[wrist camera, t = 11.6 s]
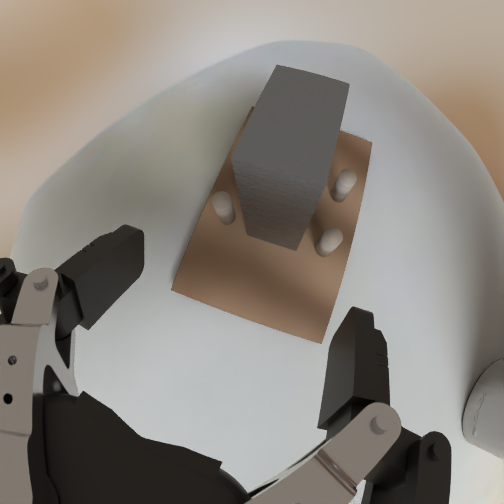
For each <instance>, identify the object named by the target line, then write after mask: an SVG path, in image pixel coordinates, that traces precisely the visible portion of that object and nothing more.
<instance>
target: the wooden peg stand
mask: <svg viewBox="0 0 504 504" xmlns="http://www.w3.org/2000/svg"><path fill="white" fill-rule="evenodd" d="M254 108H255V107H253V106H252V108H251V110H250V112H249V114H248V116H247V118H246V120H245V122H244V124H243V126H242V128H241V130H240V132H239V134H238V136H237V138H236V140H235V142H234V144H233V146H232V148H231V150H230V152H229V155H228V157H227V159H226V161H225V163H224V165H223V167H222V169H221V172H220V174H219V176H218V178H217V180H216V182H215V185H214V187H213V189H212V191H211V193H210V196H209V198H208V200H207V202H206V205H205V207H204V209H203V212H202V214H201V216H200V219H199V221H198V223H197V226H196V228H195V230H194V233H193V235H192V238H191V240H190V242H189V245H188V247H187V250H186V252H185V255H184V257H183V260H182V262H181V265H180V267H179V270H178V272H177V275H176V278H175V280H174V283H173V285H172V288H171V290H172V291H175V292H177V293H180V294H182V295H185V296H187V297H190V298H192V299H195V300H197V301H200V302H202V303H205V304H207V305H210V306H212V307H215V308H218V309H220V310H223V311H226V312H228V313H231V314H234V315H237V316H239V317H242V318H245V319H248V320H250V321H253V322H256V323H259V324H262V325H265V326H268V327H270V328H273V329H276V330H279V331H282V332H285V333H288V334H291V335H295V336H298V337H301V338H304V339H307V340H310V341H314V342H317V343H320V344H322V341H323V338H324V335H325V332H326V329H327V326H328V323H329V320H330V317H331V314H332V311H333V308H334V305H335V301H336V298H337V295H338V291H339V288H340V285H341V281H342V278H343V274H344V271H345V267H346V263H347V260H348V256H349V252H350V248H351V244H352V240H353V236H354V232H355V228H356V224H357V220H358V215H359V211H360V206H361V201H362V197H363V192H364V187H365V182H366V176H367V171H368V165H369V159H370V153H371V147H372V142H369V141H367V140H364V139H362V138H359V137H356V136H353V135H351V134H348V133H345V132H342V131H339V135H338V139H337V143H336V147H335V151H334V155H333V159H332V163H331V167H330V171H329V175H328V179H327V183H326V186H325V188H324V191H323V193H322V195H321V197H320V200H319V202H318V204H317V207H316V209H315V211H314V213H313V216H312V218H311V220H310V222H309V225H308V227H307V229H306V231H305V233H304V236H303V238H302V240H301V242H300V244H299V246H298V249H297V251H294V250H290V249H287V248H284V247H281V246H278V245H275V244H272V243H269V242H266V241H263V240H260V239H257V238H254V237H251V236H248V235H247V233H246V228H245V223H244V218H243V214H242V209H241V204H240V199H239V194H238V190H237V185H236V180H235V175H234V170H233V166H232V161H231V156H232V154H233V151H234V149H235V147H236V145H237V143H238V141H239V139H240V137H241V134H242V132H243V130H244V128H245V126H246V124H247V122H248V120H249V118H250V116H251V114H252V112H253V110H254Z"/></svg>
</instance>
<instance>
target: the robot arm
mask: <svg viewBox="0 0 504 504" xmlns="http://www.w3.org/2000/svg"><path fill="white" fill-rule="evenodd" d="M143 268H144V233H143V231H142V230H140V229H137V228H134V227H132V226H129V225H123V226H121V227H120V228H118V229H117V230H115V231H114V232H113V233H112V232H111V233H108V234H105V235H102V236H100V237H98V238H97V239H95V240H94V241H92V242H91V243H90V245H87V246H86V247H84V248H83V249H82V251H81V250H80V251H79V252H77V253H76V254H75V255H73V256H72V257H71V258H70V259H68V260H67V261H66V262H64V263H63V264H62V265H61V266H59V267H58V268H57V269H55V270H52V269H50V268H40V269H37V270H34V271H32V272H31V273H30V274H28V275H27V274H24V273H20V272H17V271H16V268H15V265H14V262H13V260H11V259H10V258H0V311H1V314H0V504H348V503H349V502H350V501H351V500H352V499H353V498H354V496H355V495H356V493H357V489H356V487H357V485H358V484H359V483H360V482H361V481H362V480H363V479H364V480H366V484H365V489H364V494H363V498H362V502H361V504H449V496H450V483H451V446H450V443H449V441H448V439H447V438H446V437H445V436H444V435H443V434H442V433H440V432H436V431H433V432H429V433H428V434H426V435H424V436H423V437H421V436H419V435H417V434H415V433H413V432H411V431H409V430H407V429H405V428H403V427H402V426H401V421H400V418H399V416H398V414H397V412H396V411H395V410H394V409H393V408H392V407H390V389H389V368H388V357H387V355H388V354H387V343H386V341H385V339H384V336H383V334H382V332H381V330H377V329H374V317H373V313H372V312H369V311H366V310H363V309H360V308H357V307H354V306H353V307H352V308H351V309H350V310H349V312H348V313H347V315H346V317H345V318H344V320H343V322H342V323H341V325H340V326H339V328H338V330H337V331H336V333H335V334H334V336H333V338H332V341H331V344H330V347H329V353H328V361H327V369H326V376H325V384H324V390H323V397H322V403H321V409H320V415H319V421H318V426H317V428H319V429H324V430H327V436H326V439H325V440H323V441H322V442H321V443H320V444H318V445H317V446H316V447H315V448H313V449H312V450H311V451H309V452H308V453H307V454H306V455H304V456H303V457H302V458H300V459H299V460H298V461H296V462H295V463H294V464H292V465H291V466H289V467H288V468H287V469H285V470H284V471H282V472H281V473H279V474H278V475H276V476H274V477H273V478H271V479H269V480H268V481H266V482H264V483H263V484H261V485H260V486H258V487H256V488H255V489H253V490H251V491H250V492H248V493H247V491H246V490H245V489H244V488H243V487H242V485H241V484H240V483H239V482H238V481H237V480H236V479H235V478H233V477H232V476H231V475H230V474H228V473H227V472H225V471H224V470H222V469H221V468H220V466H221V464H222V462H221V461H218V460H215V459H213V458H210V457H207V456H205V455H202V454H199V453H197V452H194V451H192V450H190V449H187V448H185V447H181V446H176V445H171V444H167V443H162V442H158V441H154V440H150V439H146V438H143V437H141V436H140V435H138V434H137V433H136V432H135V431H134V430H133V429H132V428H130V427H129V426H128V425H127V424H126V423H125V422H124V421H123V420H122V419H121V418H120V417H119V416H118V415H117V414H116V413H115V412H114V411H113V410H112V409H110V408H109V407H107V406H105V405H104V404H102V403H101V402H99V401H98V400H96V399H95V398H93V397H92V396H90V395H89V394H87V393H86V392H84V391H82V393H81V394H80V395H79V396H78V390H77V385H76V382H75V378H74V351H75V329H74V328H75V327H76V326H77V325H78V324H79V325H81V326H82V327H84V328H85V329H87V330H89V329H90V328H91V327H92V326H93V325H94V324H95V323H96V321H97V320H98V319H99V318H100V317H101V316H102V315H103V314H104V313H105V312H106V311H107V310H108V309H109V308H110V307H111V306H112V304H113V303H114V302H115V301H116V300H117V299H118V298H119V297H120V296H121V295H122V294H123V293H124V292H125V291H126V290H127V289H128V288H129V287H130V286H131V285H132V284H133V283H134V282H135V281H136V280H137V279H138V278H139V277H140V275H141V273H142V271H143ZM463 434H464V437H465V439H466V440H467V441H468V442H469V443H471V444H473V445H475V446H477V447H479V448H481V449H483V450H485V451H487V452H489V453H491V454H493V455H495V456H497V457H499V458H502V459H504V359H501V360H497V361H496V362H494V363H492V364H491V365H490V366H489V367H488V368H487V369H486V370H485V371H484V373H483V374H482V375H481V376H480V378H479V380H478V381H477V383H476V384H475V386H474V388H473V390H472V392H471V394H470V397H469V399H468V402H467V405H466V408H465V412H464V417H463Z"/></svg>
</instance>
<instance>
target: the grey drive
mask: <svg viewBox="0 0 504 504" xmlns="http://www.w3.org/2000/svg"><path fill="white" fill-rule="evenodd" d="M349 85H350V84H348V83H345V82H342V81H339V80H336V79H332V78H329V77H325V76H322V75H318V74H314V73H311V72H307V71H303V70H298V69H294V68H290V67H285V66H280V65H277V66H276V67H275V69H274V71H273V73H272V75H271V77H270V79H269V81H268V82H267V84H266V86H265V88H264V90H263V92H262V94H261V96H260V98H259V100H258V102H257V104H256V106H255V108H254V110H253V112H252V114H251V116H250V118H249V120H248V122H247V124H246V126H245V128H244V130H243V132H242V134H241V137H240V139H239V141H238V143H237V145H236V147H235V149H234V151H233V154H232V156H231V161H232V166H233V170H234V175H235V180H236V185H237V190H238V194H239V199H240V204H241V209H242V214H243V218H244V223H245V228H246V233H247V235H248V236H251V237H254V238H257V239H260V240H263V241H266V242H269V243H272V244H275V245H278V246H281V247H284V248H287V249H290V250H294V251H297V249H298V246H299V244H300V242H301V240H302V238H303V236H304V233H305V231H306V229H307V227H308V225H309V222H310V220H311V218H312V216H313V213H314V211H315V209H316V207H317V204H318V202H319V200H320V197H321V195H322V193H323V191H324V188H325V186H326V183H327V179H328V175H329V171H330V167H331V163H332V159H333V155H334V151H335V147H336V143H337V139H338V135H339V131H340V126H341V122H342V118H343V113H344V109H345V104H346V100H347V95H348V90H349Z"/></svg>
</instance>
